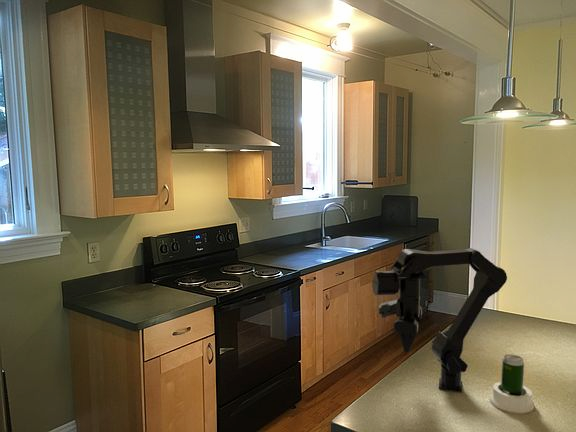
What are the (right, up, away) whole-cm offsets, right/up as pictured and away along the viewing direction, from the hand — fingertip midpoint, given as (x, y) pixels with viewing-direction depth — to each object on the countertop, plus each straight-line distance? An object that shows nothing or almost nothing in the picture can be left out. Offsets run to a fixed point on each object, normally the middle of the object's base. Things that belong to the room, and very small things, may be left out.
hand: (407, 346), depth 138 cm
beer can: (+27, -13, -7) cm, 30 cm away
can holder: (+27, -14, -7) cm, 31 cm away
